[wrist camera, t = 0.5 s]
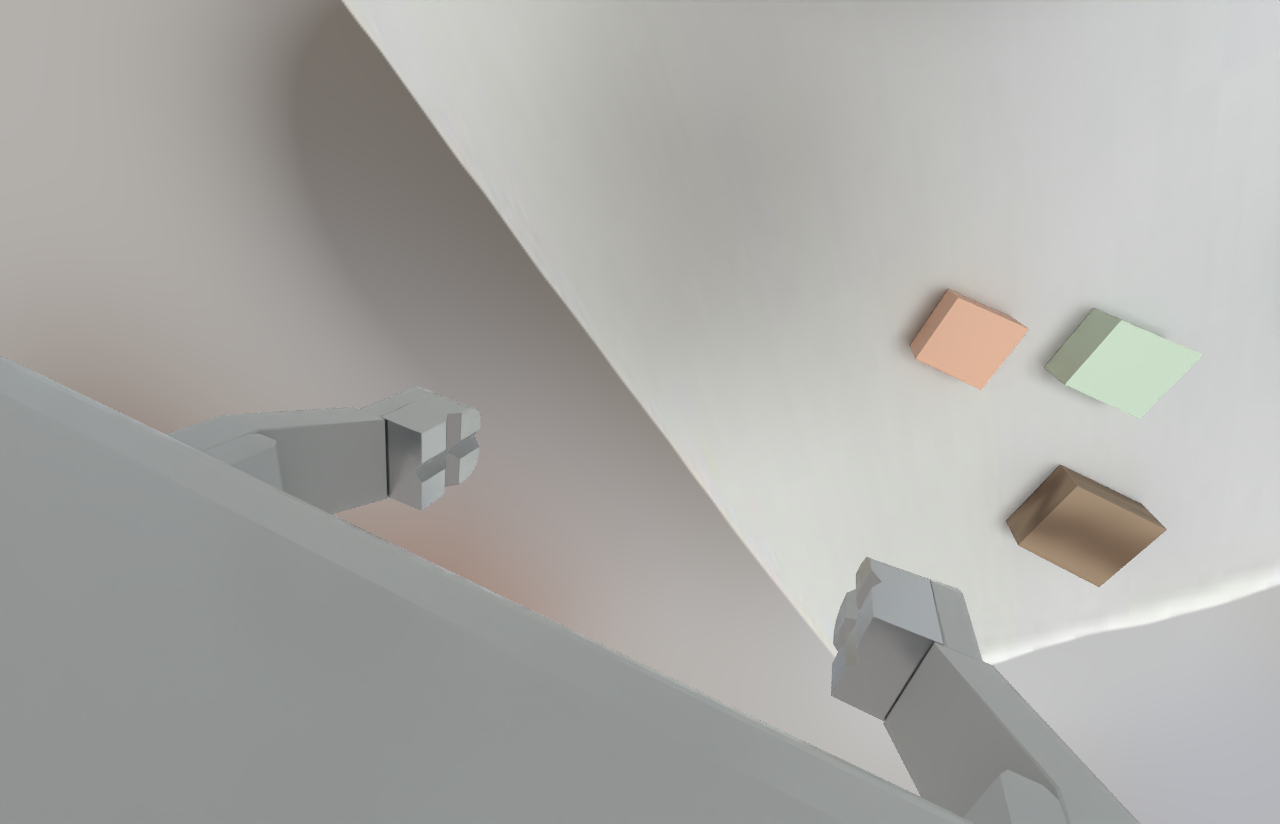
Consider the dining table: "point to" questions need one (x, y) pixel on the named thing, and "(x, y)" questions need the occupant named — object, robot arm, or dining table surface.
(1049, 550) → the walnut base
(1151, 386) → the sage block
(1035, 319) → the dining table surface
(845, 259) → the dining table surface
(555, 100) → the dining table surface
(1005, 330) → the terracotta block
